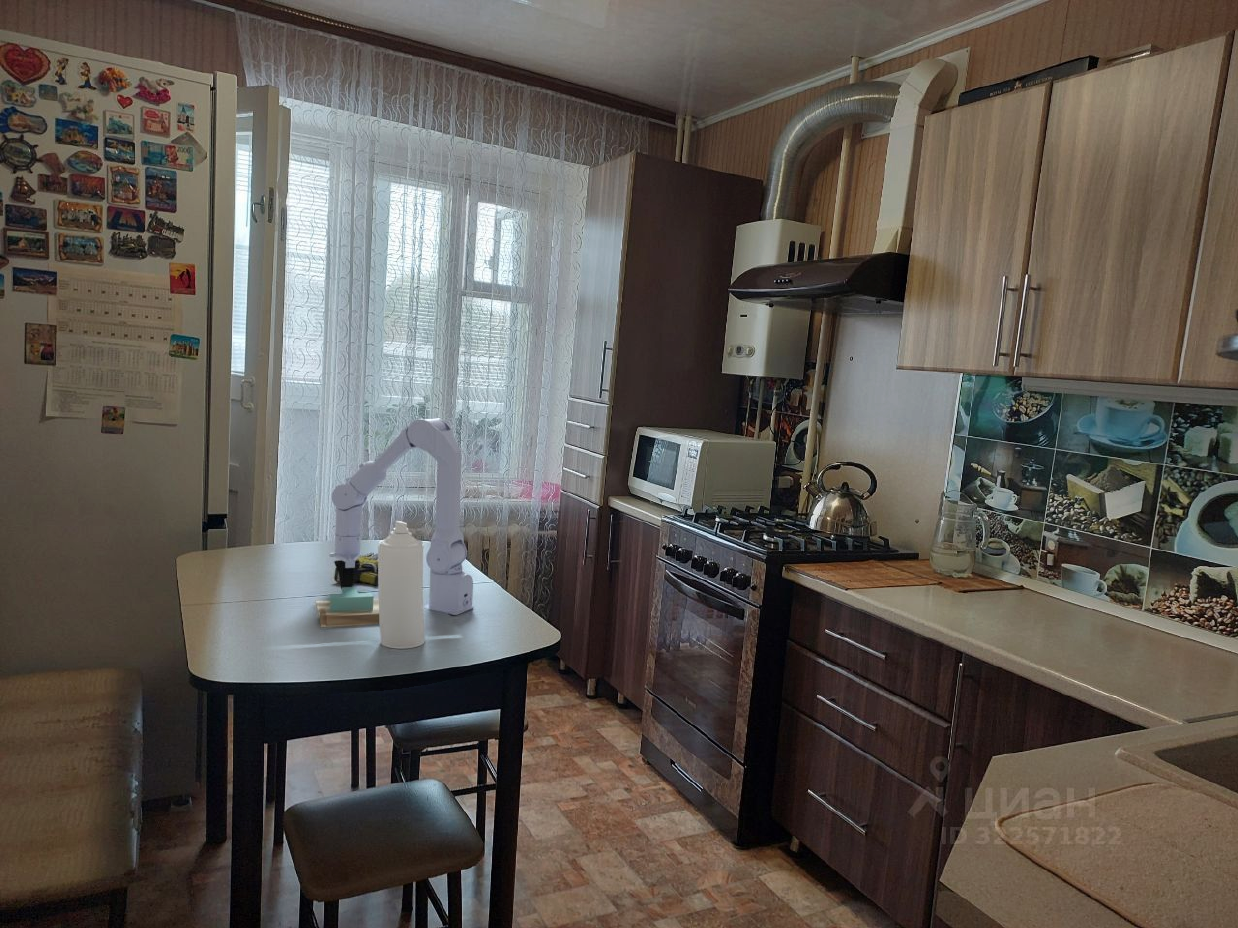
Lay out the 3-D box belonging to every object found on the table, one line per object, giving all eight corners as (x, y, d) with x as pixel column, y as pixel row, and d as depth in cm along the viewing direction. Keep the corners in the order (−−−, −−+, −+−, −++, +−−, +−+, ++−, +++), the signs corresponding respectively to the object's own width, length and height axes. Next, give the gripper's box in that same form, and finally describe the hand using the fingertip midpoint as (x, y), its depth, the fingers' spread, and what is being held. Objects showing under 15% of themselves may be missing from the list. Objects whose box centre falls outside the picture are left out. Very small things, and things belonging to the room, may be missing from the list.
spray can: (436, 649, 160) (441, 524, 158) (382, 656, 154) (387, 526, 152) (416, 632, 170) (421, 514, 167) (365, 638, 164) (369, 515, 161)
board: (315, 603, 186) (316, 592, 186) (379, 600, 192) (379, 589, 191) (321, 629, 168) (321, 617, 168) (391, 625, 173) (391, 613, 173)
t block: (373, 609, 182) (373, 596, 182) (330, 611, 179) (330, 598, 178) (368, 598, 190) (368, 586, 190) (327, 600, 187) (328, 587, 186)
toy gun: (421, 559, 226) (369, 550, 226) (392, 575, 202) (333, 565, 202) (419, 575, 226) (366, 567, 227) (389, 593, 202) (331, 583, 203)
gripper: (328, 528, 197) (326, 584, 198) (332, 540, 184) (330, 599, 185) (358, 528, 200) (356, 582, 201) (365, 540, 186) (363, 598, 188)
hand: (346, 591), depth 193 cm, fingers closed
